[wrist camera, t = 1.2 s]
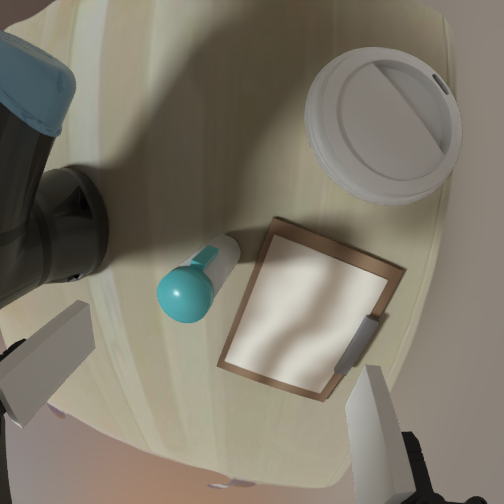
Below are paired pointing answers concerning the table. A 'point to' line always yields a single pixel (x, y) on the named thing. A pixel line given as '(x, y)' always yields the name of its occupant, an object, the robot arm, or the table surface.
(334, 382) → the clipboard
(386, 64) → the coffee cup
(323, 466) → the table surface
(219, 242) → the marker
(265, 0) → the table surface
